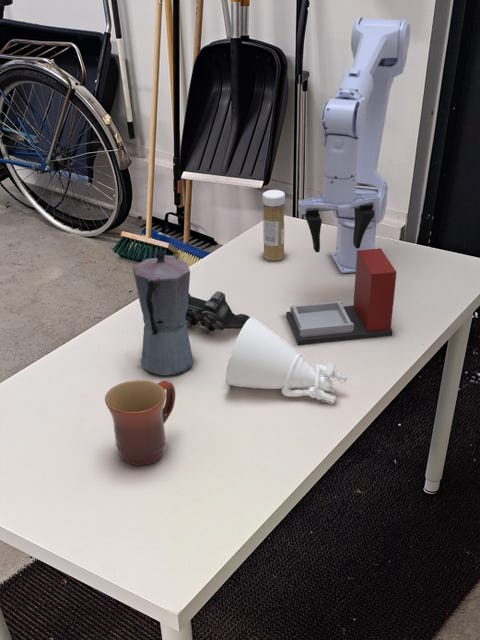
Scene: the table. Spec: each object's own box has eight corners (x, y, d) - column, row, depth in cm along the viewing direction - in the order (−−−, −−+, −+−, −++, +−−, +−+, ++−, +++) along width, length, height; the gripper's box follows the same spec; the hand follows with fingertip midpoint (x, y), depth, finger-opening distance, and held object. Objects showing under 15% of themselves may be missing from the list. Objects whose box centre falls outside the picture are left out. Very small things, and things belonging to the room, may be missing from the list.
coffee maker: (286, 316, 161) (286, 255, 153) (375, 307, 163) (381, 246, 155) (297, 345, 153) (299, 282, 145) (392, 335, 154) (398, 272, 146)
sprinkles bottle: (289, 256, 181) (289, 192, 172) (273, 263, 178) (273, 198, 169) (273, 250, 183) (273, 187, 174) (258, 257, 181) (257, 193, 172)
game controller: (167, 329, 164) (147, 296, 155) (185, 302, 165) (166, 267, 156) (237, 352, 156) (220, 319, 148) (255, 323, 158) (239, 288, 149)
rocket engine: (356, 346, 133) (250, 306, 135) (328, 414, 132) (221, 372, 134) (354, 368, 144) (256, 331, 146) (327, 430, 143) (230, 392, 146)
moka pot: (201, 344, 154) (194, 235, 141) (189, 390, 142) (180, 277, 129) (149, 342, 155) (137, 234, 141) (133, 388, 143) (118, 275, 130)
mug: (142, 478, 125) (135, 420, 118) (101, 456, 129) (92, 399, 122) (197, 440, 132) (193, 383, 125) (156, 421, 136) (150, 364, 129)
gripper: (304, 185, 146) (303, 260, 155) (386, 177, 148) (380, 253, 157) (296, 171, 151) (294, 245, 160) (375, 164, 153) (369, 237, 162)
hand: (336, 248), depth 159 cm, fingers open, 7 cm apart
